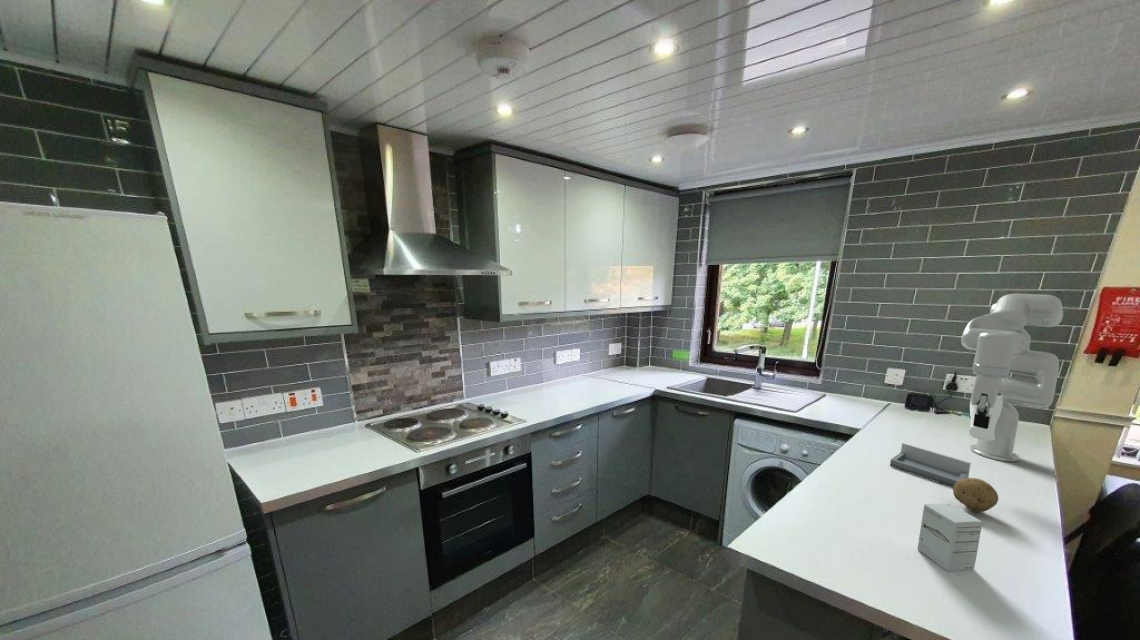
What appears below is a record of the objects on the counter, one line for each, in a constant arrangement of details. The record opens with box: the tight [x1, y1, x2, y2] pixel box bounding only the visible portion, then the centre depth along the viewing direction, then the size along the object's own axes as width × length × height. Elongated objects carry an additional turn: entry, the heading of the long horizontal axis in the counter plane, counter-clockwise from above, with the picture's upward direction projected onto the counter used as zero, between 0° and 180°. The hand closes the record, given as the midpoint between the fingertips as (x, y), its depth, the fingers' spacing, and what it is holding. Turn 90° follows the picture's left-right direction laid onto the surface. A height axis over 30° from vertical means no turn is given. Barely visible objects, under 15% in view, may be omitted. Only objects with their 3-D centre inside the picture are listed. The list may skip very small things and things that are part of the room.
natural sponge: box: [952, 477, 999, 513], centre depth 111 cm, size 9×9×10 cm
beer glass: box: [967, 388, 1003, 440], centre depth 122 cm, size 7×7×15 cm
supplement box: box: [917, 502, 983, 572], centre depth 91 cm, size 7×7×13 cm
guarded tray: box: [889, 442, 971, 488], centre depth 133 cm, size 12×18×6 cm, turn 34°
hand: (982, 424), depth 122 cm, fingers closed on beer glass, 6 cm apart
